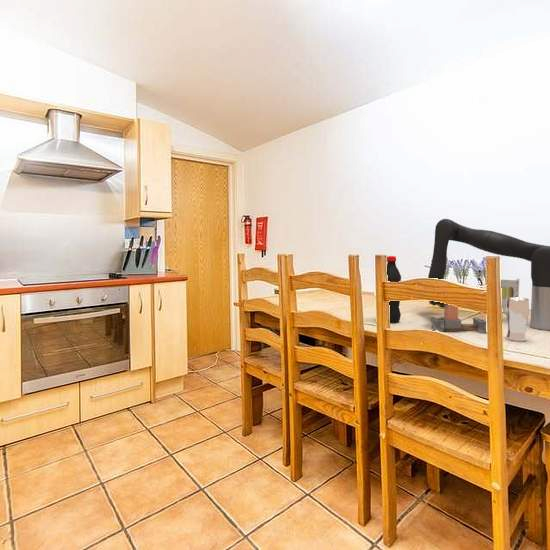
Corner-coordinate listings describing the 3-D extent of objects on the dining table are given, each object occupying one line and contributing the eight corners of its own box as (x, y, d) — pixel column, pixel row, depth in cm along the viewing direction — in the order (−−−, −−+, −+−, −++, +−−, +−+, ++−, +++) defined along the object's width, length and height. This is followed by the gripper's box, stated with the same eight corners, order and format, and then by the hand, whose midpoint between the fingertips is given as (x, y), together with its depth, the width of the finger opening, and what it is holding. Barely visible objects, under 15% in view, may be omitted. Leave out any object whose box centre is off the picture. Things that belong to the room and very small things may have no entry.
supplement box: (492, 312, 179) (493, 278, 178) (496, 309, 186) (497, 277, 184) (515, 314, 173) (516, 279, 171) (518, 311, 179) (519, 278, 178)
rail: (480, 328, 146) (481, 316, 146) (487, 333, 140) (488, 320, 139) (431, 327, 150) (431, 315, 149) (436, 332, 143) (436, 319, 143)
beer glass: (504, 340, 130) (506, 299, 128) (504, 335, 136) (506, 296, 134) (527, 342, 126) (529, 300, 125) (527, 338, 132) (529, 297, 130)
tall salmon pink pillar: (456, 324, 148) (457, 283, 146) (461, 328, 141) (462, 285, 140) (440, 324, 149) (441, 283, 147) (445, 328, 143) (446, 285, 141)
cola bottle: (377, 321, 164) (377, 256, 161) (387, 318, 169) (388, 255, 166) (394, 324, 157) (394, 256, 154) (404, 321, 163) (405, 255, 160)
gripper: (424, 289, 159) (434, 295, 143) (459, 289, 157) (472, 295, 140) (424, 306, 160) (433, 313, 144) (458, 306, 158) (472, 314, 141)
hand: (453, 304), depth 142 cm, fingers open, 6 cm apart
